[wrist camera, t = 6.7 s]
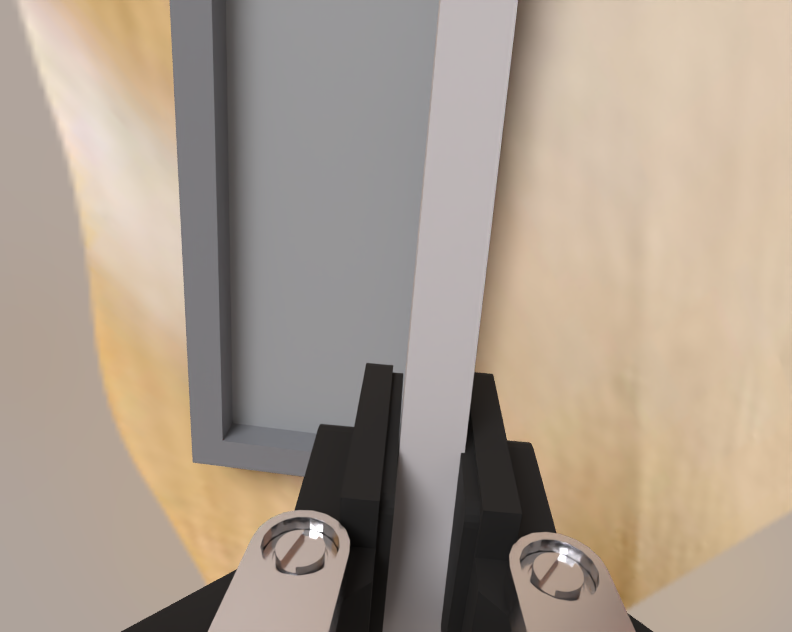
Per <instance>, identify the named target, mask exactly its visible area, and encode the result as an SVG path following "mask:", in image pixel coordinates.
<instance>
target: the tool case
mask: <svg viewBox="0 0 792 632" xmlns="http://www.w3.org/2000/svg"><path fill="white" fill-rule="evenodd" d="M438 9H439V0H170V17H171V37H172V57H173V77H174V97H175V117H176V137H177V157H178V177H179V197H180V217H181V237H182V256H183V276H184V296H185V316H186V336H187V356H188V376H189V396H190V416H191V436H192V456H193V463H201V464H209V465H217V466H225V467H232V468H240V469H248V470H256V471H264V472H272V473H279V474H287V475H295V476H303V477H304V476H305V472H306V469H307V465H308V462H309V458H310V455H311V451H312V448H313V444H314V441H315V437H316V434H317V430H318V427H319V425H320V424H329V425H340V426H351V427H354V425H355V419H356V414H357V409H358V404H359V398H360V393H361V388H362V383H363V377H364V372H365V367H366V363H374V364H385V365H393V372H394V373H403V389H402V403H401V415H402V404H403V393H404V382H405V371H406V360H407V349H408V338H409V327H410V316H411V305H412V294H413V283H414V272H415V261H416V250H417V239H418V228H419V217H420V206H421V195H422V184H423V173H424V162H425V151H426V140H427V129H428V119H429V108H430V97H431V86H432V75H433V64H434V53H435V42H436V31H437V20H438ZM400 425H401V418H400ZM399 436H400V433H399Z"/></svg>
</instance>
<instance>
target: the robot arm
mask: <svg viewBox="0 0 792 632" xmlns="http://www.w3.org/2000/svg"><path fill="white" fill-rule="evenodd" d="M402 389H403V373H394V372H393V365H385V364H374V363H366V367H365V372H364V377H363V383H362V388H361V393H360V398H359V404H358V409H357V414H356V419H355V425H354V427H351V426H340V425H329V424H320V425H319V427H318V430H317V434H316V437H315V441H314V444H313V448H312V451H311V455H310V458H309V462H308V465H307V469H306V472H305V476H304V479H303V483H302V486H301V490H300V493H299V497H298V500H297V504H296V507H295V511H290V512H285V513H282V514H279V515H277V516H275V517H272V518H270V519H269V520H268V521H266V522H265V523H264V524H262V525H261V526H260V527H259V528H258V530H257V531H256V533H255V534H254V535H253V537H252V539H251V541H250V543H249V545H248V547H247V549H246V551H245V554H244V556H243V558H242V560H241V562H240V564H239V566H238V568H237V569H236V570H235V571H233V572H231V573H229V574H227V575H225V576H223V577H222V578H220V579H218V580H216V581H214V582H212V583H210V584H209V585H207V586H205V587H203V588H201V589H200V590H197V591H196V592H194V593H192V594H190V595H188V596H186V597H185V598H183V599H181V600H179V601H177V602H175V603H173V604H171V605H170V606H168V607H166V608H164V609H162V610H161V611H159V612H157V613H155V614H153V615H151V616H149V617H147V618H146V619H144V620H142V621H140V622H138V623H137V624H134V625H133V626H131V627H129V628H127V629H125V630H123V631H121V632H383V621H384V611H385V600H386V590H387V579H388V569H389V558H390V548H391V537H392V527H393V516H394V505H395V492H396V477H397V463H398V448H399V433H400V418H401V403H402ZM441 632H653V631H651V630H650V629H649V628H647V627H646V626H644V625H643V624H641V623H640V622H639V621H638V620H636V619H635V618H633V617H632V616H631V615H629V614H628V613H627V611H626V609H625V607H624V605H623V602H622V600H621V598H620V596H619V594H618V591H617V589H616V587H615V585H614V582H613V580H612V578H611V576H610V574H609V571H608V569H607V568H606V566H605V565H604V563H603V562H602V560H601V558H600V557H599V556H598V555H596V554H595V553H594V552H593V551H592V550H591V549H590V548H589V547H587V546H586V545H584V544H582V543H581V542H579V541H577V540H576V539H573V538H570V537H568V536H565V535H562V534H557V533H556V530H555V526H554V522H553V519H552V515H551V511H550V508H549V504H548V500H547V497H546V493H545V489H544V486H543V482H542V478H541V475H540V471H539V467H538V464H537V460H536V456H535V453H534V449H533V446H532V444H531V443H529V442H518V441H507V438H506V433H505V429H504V424H503V419H502V414H501V410H500V405H499V400H498V395H497V390H496V386H495V381H494V376H493V374H487V373H476V372H474V378H473V387H472V395H471V404H470V412H469V420H468V429H467V437H466V446H465V453H461V456H460V465H459V473H458V482H457V490H456V499H455V508H454V516H453V525H452V533H451V542H450V550H449V559H448V567H447V576H446V584H445V593H444V602H443V610H442V619H441Z"/></svg>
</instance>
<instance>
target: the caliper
mask: <svg viewBox="0 0 792 632" xmlns="http://www.w3.org/2000/svg"><path fill="white" fill-rule="evenodd" d="M517 5H518V0H439V9H438V20H437V31H436V42H435V53H434V64H433V75H432V86H431V97H430V108H429V119H428V129H427V140H426V151H425V162H424V173H423V184H422V195H421V206H420V217H419V228H418V239H417V250H416V261H415V272H414V283H413V294H412V305H411V316H410V327H409V338H408V349H407V360H406V371H405V382H404V393H403V404H402V415H401V425H400V436H399V448H398V463H397V477H396V492H395V505H394V516H393V527H392V537H391V548H390V558H389V569H388V579H387V590H386V600H385V611H384V621H383V632H441V619H442V610H443V602H444V593H445V584H446V576H447V567H448V559H449V550H450V542H451V533H452V525H453V516H454V508H455V499H456V490H457V482H458V473H459V465H460V456H461V453H465V446H466V437H467V429H468V420H469V412H470V404H471V395H472V387H473V378H474V370H475V361H476V353H477V344H478V336H479V328H480V319H481V311H482V302H483V294H484V285H485V277H486V268H487V260H488V252H489V243H490V235H491V226H492V218H493V209H494V201H495V192H496V184H497V175H498V167H499V158H500V150H501V141H502V133H503V124H504V116H505V107H506V99H507V90H508V82H509V73H510V65H511V56H512V48H513V39H514V31H515V22H516V14H517Z"/></svg>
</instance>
